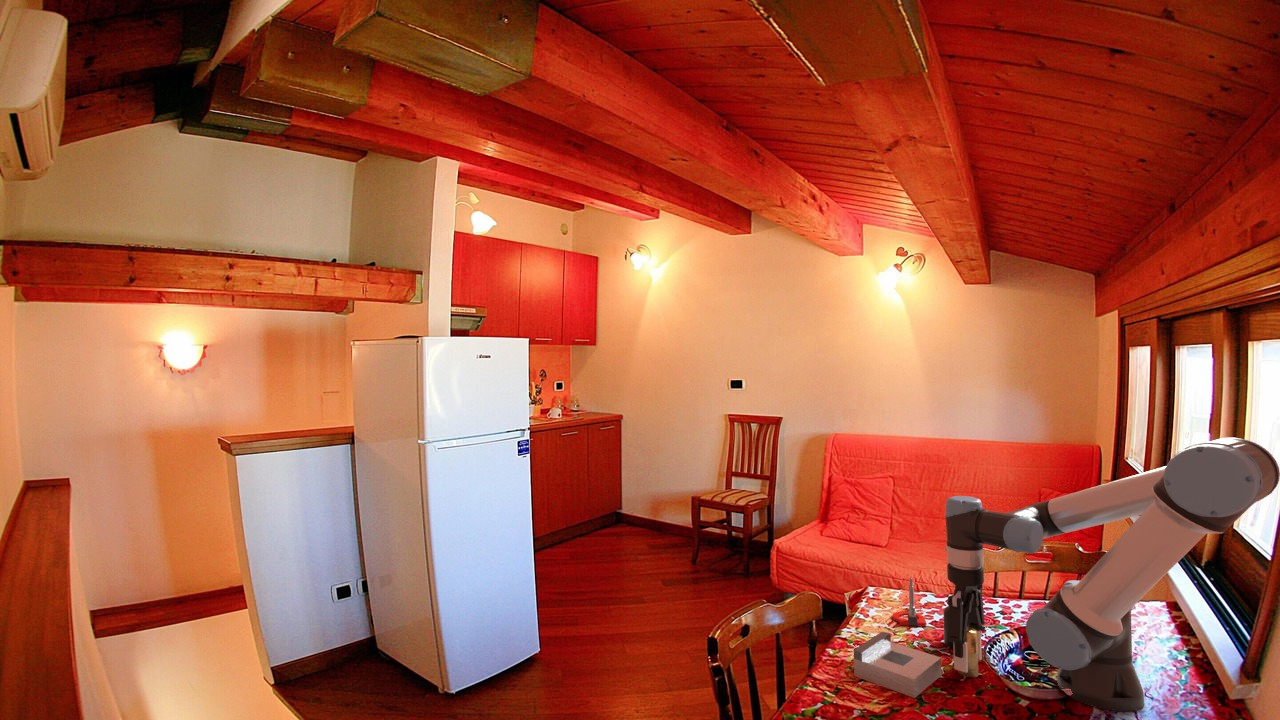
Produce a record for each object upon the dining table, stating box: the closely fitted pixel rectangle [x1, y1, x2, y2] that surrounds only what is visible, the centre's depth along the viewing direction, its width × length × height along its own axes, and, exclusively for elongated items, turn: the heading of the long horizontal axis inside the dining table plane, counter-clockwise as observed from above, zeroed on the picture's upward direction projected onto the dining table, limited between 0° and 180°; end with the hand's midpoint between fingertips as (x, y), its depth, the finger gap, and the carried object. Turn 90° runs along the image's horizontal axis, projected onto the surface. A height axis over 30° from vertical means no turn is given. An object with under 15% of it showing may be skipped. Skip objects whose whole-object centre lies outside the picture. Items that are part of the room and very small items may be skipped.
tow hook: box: [891, 577, 927, 627], centre depth 179 cm, size 8×13×9 cm
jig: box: [853, 630, 943, 699], centre depth 148 cm, size 14×14×6 cm
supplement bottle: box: [943, 594, 969, 650], centre depth 162 cm, size 7×7×12 cm
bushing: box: [958, 627, 979, 679], centre depth 148 cm, size 4×4×10 cm
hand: (968, 663), depth 148 cm, fingers open, 8 cm apart
